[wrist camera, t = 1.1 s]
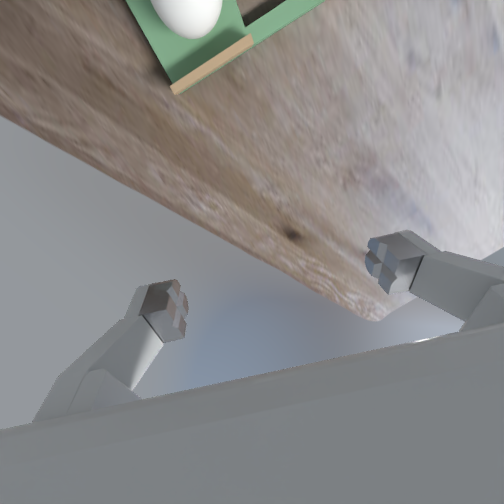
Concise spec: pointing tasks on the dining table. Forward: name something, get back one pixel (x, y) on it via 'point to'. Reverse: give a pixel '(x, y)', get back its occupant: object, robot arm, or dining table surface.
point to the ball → (188, 16)
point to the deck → (211, 38)
